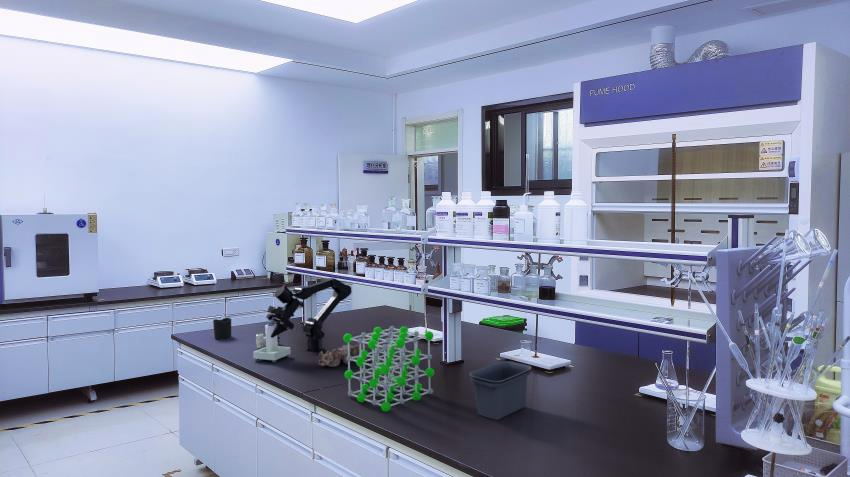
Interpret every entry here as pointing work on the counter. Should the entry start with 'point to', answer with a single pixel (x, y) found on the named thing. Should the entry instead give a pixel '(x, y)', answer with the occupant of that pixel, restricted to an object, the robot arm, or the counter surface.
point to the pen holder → (222, 328)
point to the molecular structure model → (389, 365)
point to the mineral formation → (337, 355)
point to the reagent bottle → (271, 342)
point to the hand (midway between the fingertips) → (268, 336)
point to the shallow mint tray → (271, 354)
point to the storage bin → (500, 388)
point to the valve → (262, 340)
